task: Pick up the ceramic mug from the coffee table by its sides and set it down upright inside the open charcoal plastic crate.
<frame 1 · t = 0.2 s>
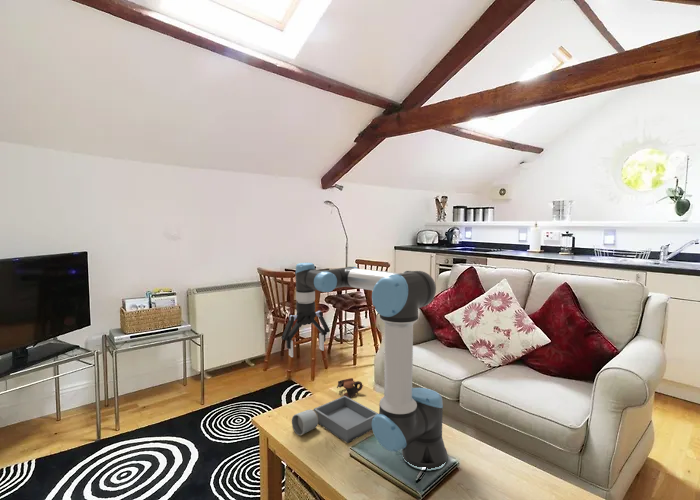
hand: (306, 352, 155), 27 cm above the table, tool pointing down, fingers open, 13 cm apart
ceramic mug: (303, 430, 148), on the table
crate: (346, 423, 152), on the table
pottery mug: (349, 394, 177), on the table
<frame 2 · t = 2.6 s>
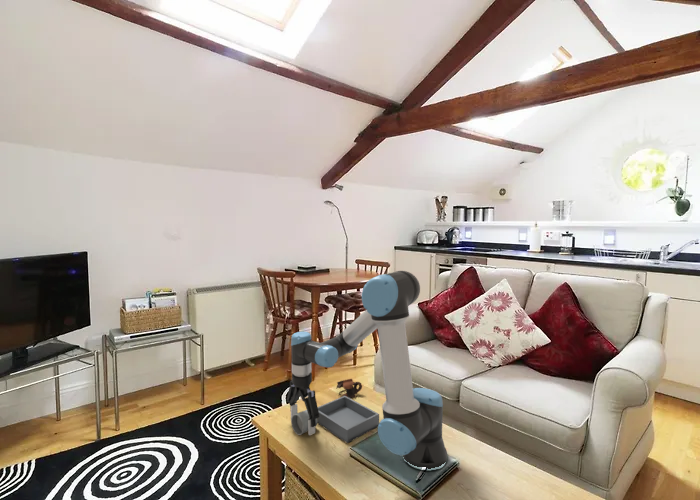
hand: (302, 427, 148), 1 cm above the table, tool pointing down, fingers open, 11 cm apart
ceramic mug: (302, 429, 148), on the table, touching gripper
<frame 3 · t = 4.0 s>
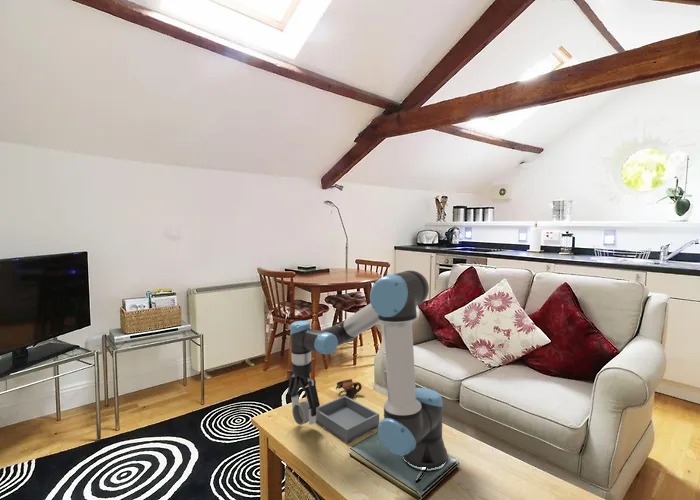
hand: (303, 417, 147), 5 cm above the table, tool pointing down, fingers closed on ceramic mug, 11 cm apart
ceramic mug: (304, 420, 147), point 4 cm above the table, touching gripper
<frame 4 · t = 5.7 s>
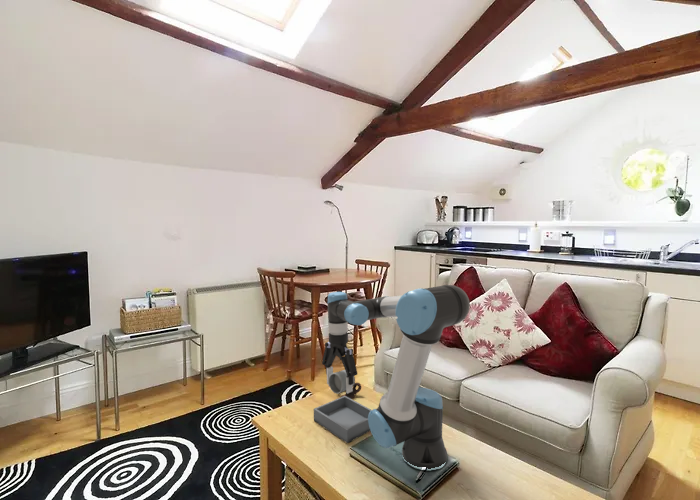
hand: (339, 387, 149), 15 cm above the table, tool pointing down, fingers closed on ceramic mug, 11 cm apart
ceramic mug: (339, 389, 149), point 15 cm above the table, touching gripper
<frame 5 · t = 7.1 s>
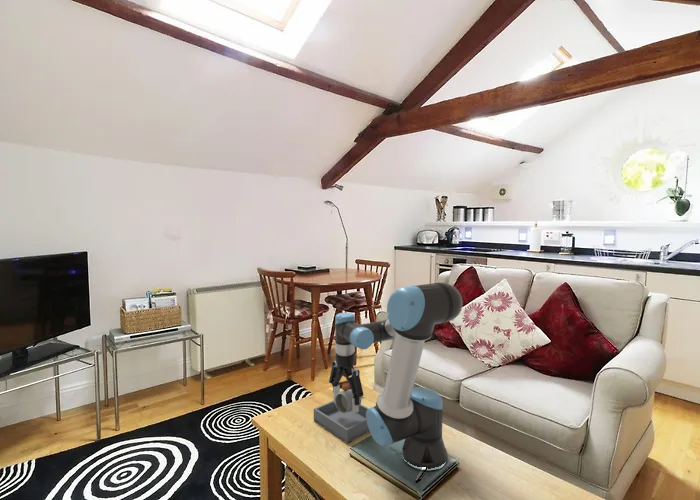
hand: (345, 406, 151), 7 cm above the table, tool pointing down, fingers closed on ceramic mug, 11 cm apart
ceramic mug: (346, 408, 151), point 6 cm above the table, touching gripper
when the fingers open (3 cm above the table, at t = 8.4 s): ceramic mug drops 2 cm, resting on crate.
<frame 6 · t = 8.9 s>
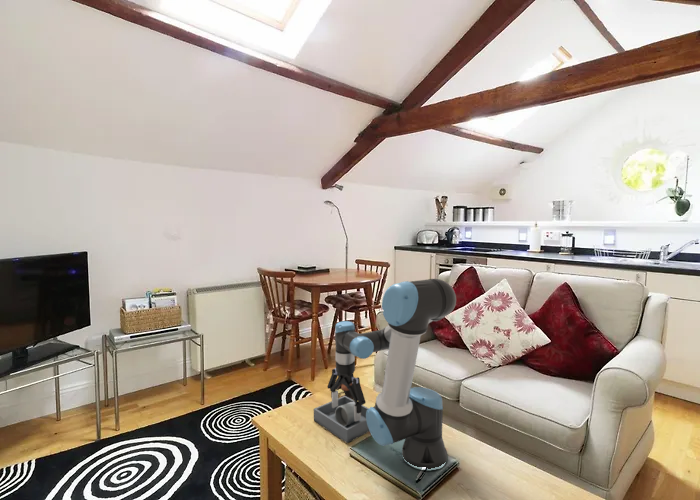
hand: (345, 413, 152), 4 cm above the table, tool pointing down, fingers open, 13 cm apart
ceramic mug: (346, 421, 152), point 1 cm above the table, touching crate
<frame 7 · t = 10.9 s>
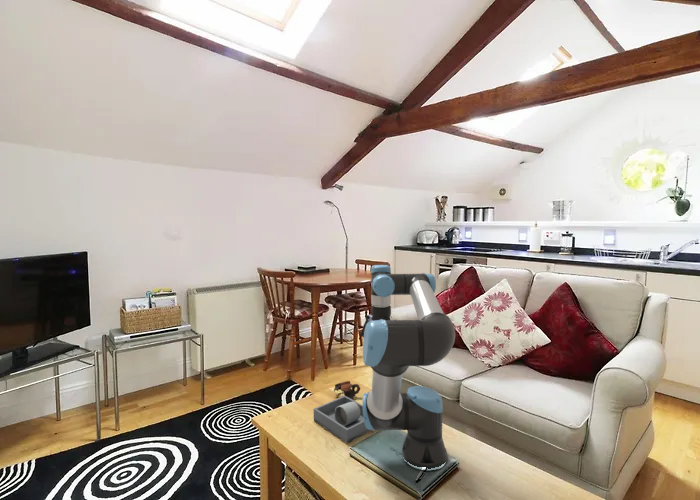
hand: (381, 359, 149), 26 cm above the table, tool pointing down, fingers open, 13 cm apart
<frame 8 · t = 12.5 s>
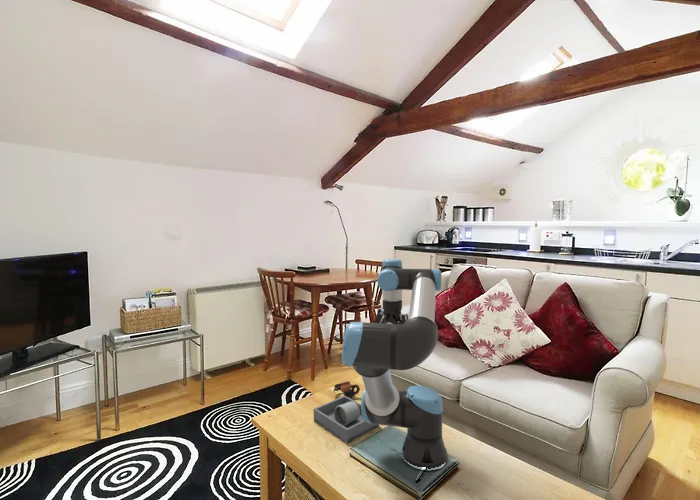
hand: (392, 352, 149), 29 cm above the table, tool pointing down, fingers open, 13 cm apart
at the end: ceramic mug inside the target area on the crate (0.5 cm from its centre), point 0.8 cm above the crate's base; ceramic mug tilted 1°; the gripper is holding nothing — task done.
